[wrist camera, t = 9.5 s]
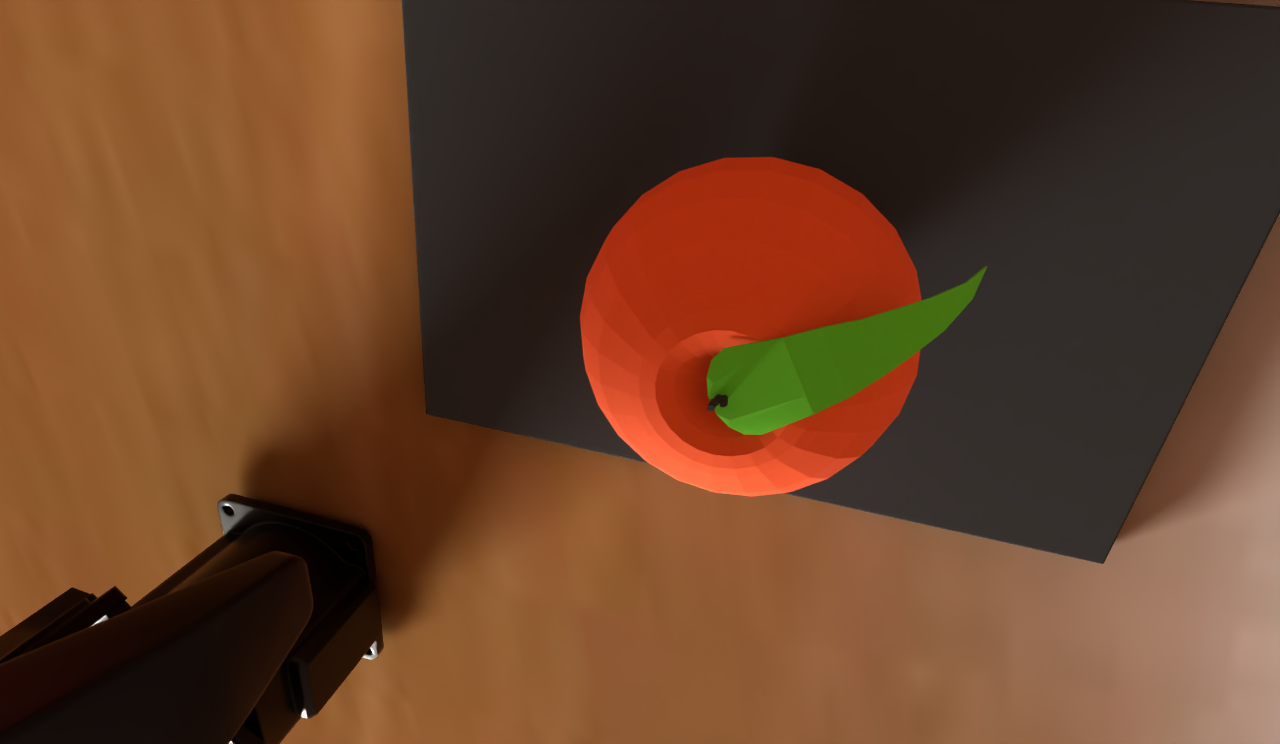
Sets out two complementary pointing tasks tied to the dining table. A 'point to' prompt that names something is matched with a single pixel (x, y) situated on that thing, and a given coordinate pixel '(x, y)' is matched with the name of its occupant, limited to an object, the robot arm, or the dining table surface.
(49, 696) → the robot arm
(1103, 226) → the placemat
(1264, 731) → the dining table surface
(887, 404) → the clementine
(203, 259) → the dining table surface
